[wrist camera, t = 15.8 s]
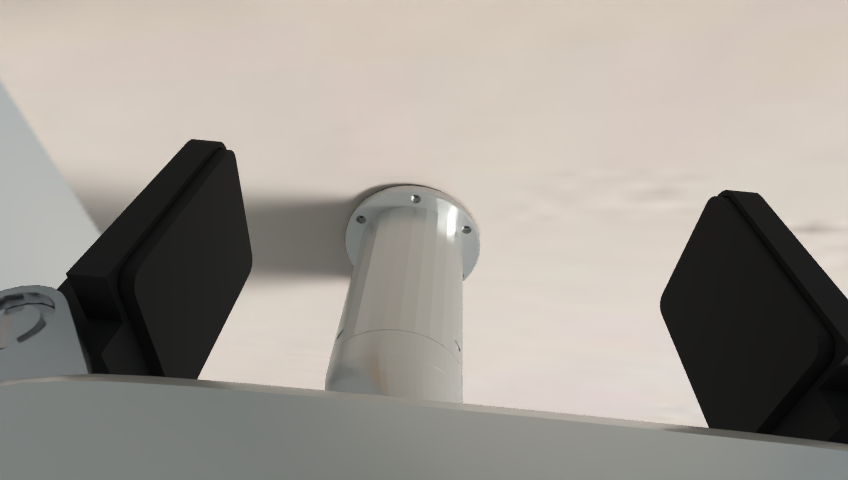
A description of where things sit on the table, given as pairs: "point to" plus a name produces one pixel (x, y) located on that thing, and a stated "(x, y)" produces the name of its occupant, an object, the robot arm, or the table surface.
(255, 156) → the table surface
